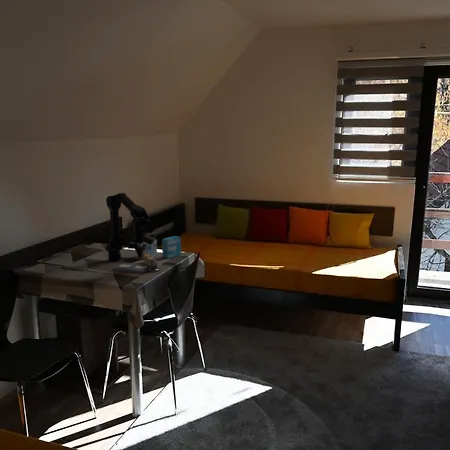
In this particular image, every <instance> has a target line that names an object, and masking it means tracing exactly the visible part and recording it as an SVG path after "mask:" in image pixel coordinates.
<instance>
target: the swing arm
mask: <svg viewBox="0 0 450 450" xmlns="http://www.w3.org/2000/svg"><path fill="white" fill-rule="evenodd" d="M141 259H142V261H143V262H145V263H146V265H149V266H150V267H151V269H157V268H158V260H157V259H156V258H154V257H152V256H151V255H150V254H148V253H147V252H146V253H143V254H142V258H141Z"/></svg>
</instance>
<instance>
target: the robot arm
mask: <svg viewBox="0 0 450 450" xmlns="http://www.w3.org/2000/svg"><path fill="white" fill-rule="evenodd" d="M105 202H106V207H107V208H108V210H109V219H110V220H109V221H110V223H109V224H110V235H109V237H108V241H107V244H106V246H105V252H107V253H108V254H107V255H108V256H107V257H108V259H107V262H116V263H117V262H119V261H121V260H122V253H121V251H122V250H123V248H124V238H123V236H122V235H121V234H120V215H119V213H120V212H119V211H120V210H121V209H120V208H121V207H122V206H124V207H125V208H126V209H127V210H128V211H129V212H130V214H129V215H130V216H131V218H133V219H132V220H131V222H132V223H133V227H134V228H133V233H132V235H134V239H132V241H131V242H129V243H128V244H127V249H129V250H130V249H131V250H135V252H136V254H137V256H138V258H139V259H142V258H141V257H142V254H143V250H144V248H145V247H146V246H147V244H145V243H148V244H149V245H151V244H153V243H154V240H156V234H154V233H153V232H154V231H155V228H156V227H155V225H154V223H152V220H150V216H149V215H148V213H147V210H146V208H144V207H143V206H141V205H138V204H136V203H135V202H134V201H133V200H132V199H131V198H130V197H129V196H128V195H127V194H126V193H125V192H121V193H120V192H119V193H117V194H114V195H109V196H107V197H106V200H105ZM150 234H151V235H150Z"/></svg>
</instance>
